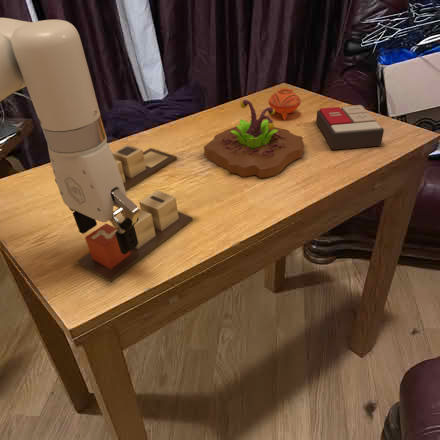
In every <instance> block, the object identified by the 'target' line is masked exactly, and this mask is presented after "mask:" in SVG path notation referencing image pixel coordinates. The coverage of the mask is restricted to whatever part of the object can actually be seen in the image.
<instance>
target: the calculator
mask: <svg viewBox="0 0 440 440" xmlns="http://www.w3.org/2000/svg"><path fill="white" fill-rule="evenodd" d="M315 124H316V125H317V126H318V128H319V130H320V131H321V132H322V134H323V135H324V137H325V139H326V143H327V145H328V146H329V147H330V149H331V150H332V151H336V150H337V151H338V150H346V149H347V150H348V149H358V148H359V149H360V148H370V147H380V146H382V142H383V137H384V132H385V129H384V127H382V126H381V125H380V124H379V122H378V121H377V120H376V119H375V118H374V116H372V114H370V112H368V110H367V109H366V108H365V107H364V106H363V105H362V104H357V105H346V106H345V105H343V106H341V107H339V106H332V107H322V108H319V109H318V110H316V121H315Z"/></svg>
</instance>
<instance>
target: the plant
mask: <svg viewBox="0 0 440 440" xmlns="http://www.w3.org/2000/svg"><path fill="white" fill-rule="evenodd" d="M239 105H240V107H241V108H242V109H245V108H247V107H249V110H250V118H251V119H250V121H249V122H248V121H247V120H245V119H240V120H239V124H236V126H234V127H231V128H228V129H226V130H224V131H220V132H219V133H216V134H214V137H213V139H212V140H209V142H208V143H206V144H205V145H204V146H203V156H204V157H205V158H207V160H209V161H211V162H214V163H215V164H216V165H217V166H218V167H220V168H223V169H226V170H228V172H229V174H236V175H239V176H240V177H242V178H247V177H251V176H256V177H258V178H260V179H265V178H272V177H274V176H277V175H279V174H281V172H282V171H283V170H284V169H285V167H287V166H288V165H290V164H292V163H293V162H294V161H296V160H298V159H301V158H302V157H303V156H302V155H303V153H304V144H305V142H304V141H303V138H304V137H303V136H301V135H297V134H294V133H292V132H291V131H290V130H288V129H286V128H280V127H276V126H275V123H274V121H273V120H272V119H271V117H270V116H274V115H275V113H276V111H275V110H274V109H273V108H272V107H270V106H268V107H266V108H265V109H263V111H262V112H261V113H260V115H259V117H258V118H257V113H256V109H255V107H254V105H253V103H252V102H251V101H250V100H247V99H243V100H241V102H240V104H239ZM267 112H268V114H269V115H270V116H268V115H265V114H266V113H267Z"/></svg>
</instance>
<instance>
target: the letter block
mask: <svg viewBox="0 0 440 440" xmlns="http://www.w3.org/2000/svg"><path fill="white" fill-rule="evenodd" d="M115 232H117V230H116V228H115V227H114V226H113V225H112V224H111V225H110V224H109V223H104V224H103V225H102V226H100V227H98V228H96V230H94V231H92V232H91V233H89V234H88V235H85V236H84V240H85V242H86V246H87V248H88V251H89V253H90V254H91V257H92V259H93V260H95V261H97V262H98V263H100V264H102V265H104V266H106V267H108V268H109V269H112V268H113V267H114V266H116V265H117V264H118V263H120V262H121V261H122V260H124V259H125V258H127V257H128V256H129V255H131V253H130V251H129V252H128V253H126V254H122V253H121V251H120V248H119V244H118V241H117V238H116V234H115Z"/></svg>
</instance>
